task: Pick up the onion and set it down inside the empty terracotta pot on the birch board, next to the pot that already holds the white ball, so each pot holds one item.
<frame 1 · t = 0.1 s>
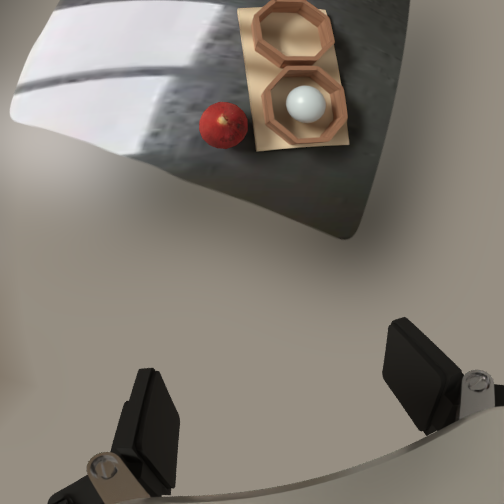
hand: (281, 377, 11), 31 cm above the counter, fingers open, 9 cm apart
onion: (223, 129, 36), on the counter
pot board: (292, 73, 35), on the counter
white ball: (300, 107, 35), point 1 cm above the counter, touching pot board
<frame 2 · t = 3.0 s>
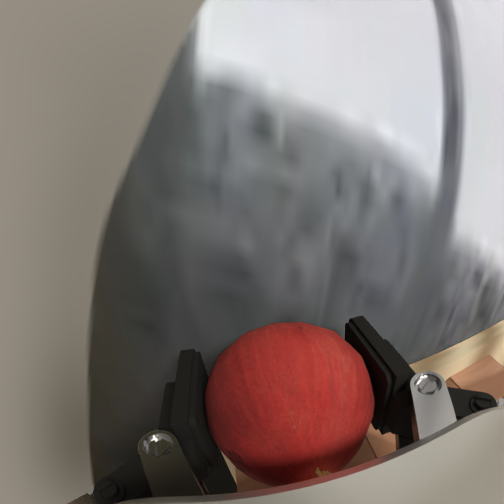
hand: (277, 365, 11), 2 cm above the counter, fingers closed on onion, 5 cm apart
onion: (270, 342, 13), on the counter, touching gripper
pot board: (385, 430, 16), on the counter
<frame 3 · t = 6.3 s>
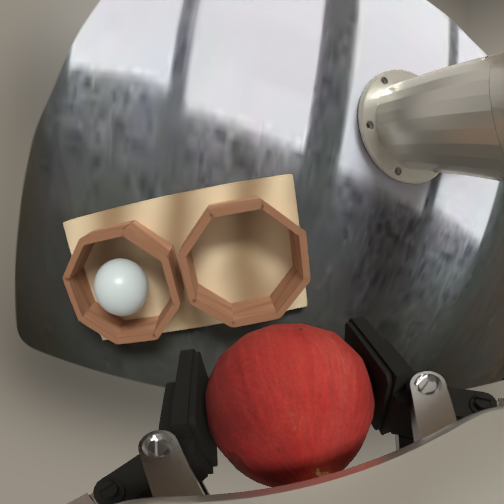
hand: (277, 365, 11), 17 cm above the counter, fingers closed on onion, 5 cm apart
onion: (270, 343, 13), point 16 cm above the counter, touching gripper
pot board: (184, 262, 27), on the counter
white ball: (128, 276, 26), point 1 cm above the counter, touching pot board
when the fingers open (4 cm above the counter, at t = 9.6 s): onion drops 2 cm, resting on pot board.
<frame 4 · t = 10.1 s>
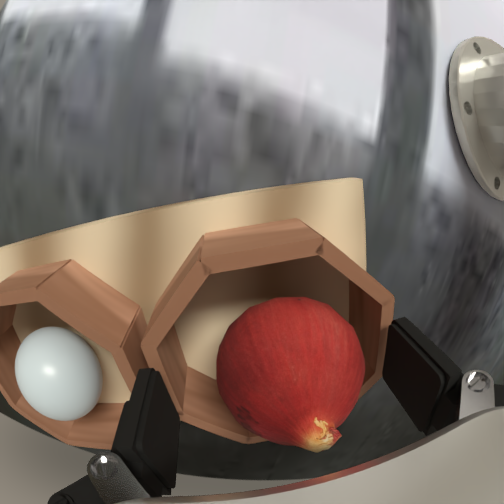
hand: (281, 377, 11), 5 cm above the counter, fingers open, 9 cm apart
onion: (272, 320, 15), point 1 cm above the counter, touching pot board
pot board: (163, 328, 15), on the counter
white ball: (74, 347, 14), point 1 cm above the counter, touching pot board
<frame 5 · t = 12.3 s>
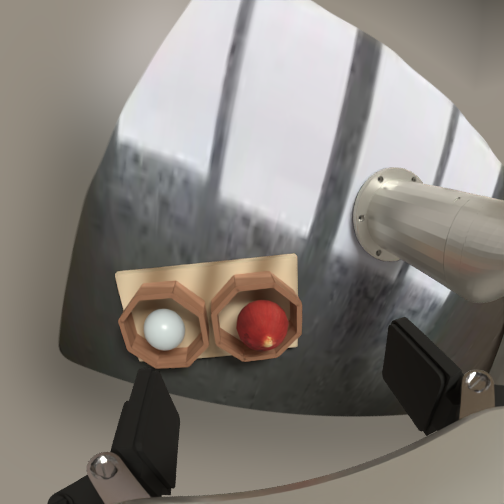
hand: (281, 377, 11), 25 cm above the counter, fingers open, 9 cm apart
onion: (257, 309, 36), point 1 cm above the counter, touching pot board
pot board: (210, 310, 37), on the counter
white ball: (167, 319, 35), point 1 cm above the counter, touching pot board
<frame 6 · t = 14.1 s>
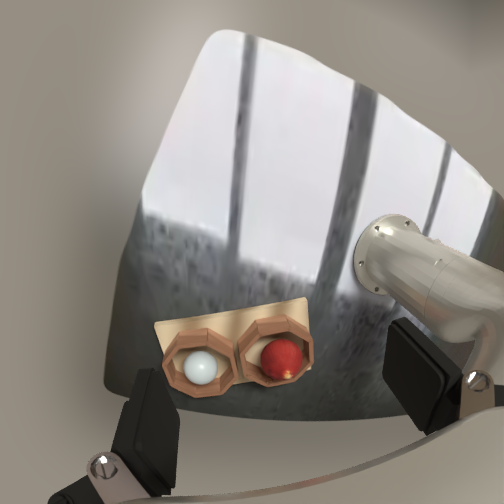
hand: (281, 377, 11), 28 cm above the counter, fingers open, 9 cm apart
onion: (276, 343, 42), point 1 cm above the counter, touching pot board
pot board: (236, 347, 43), on the counter
white ball: (201, 357, 41), point 1 cm above the counter, touching pot board
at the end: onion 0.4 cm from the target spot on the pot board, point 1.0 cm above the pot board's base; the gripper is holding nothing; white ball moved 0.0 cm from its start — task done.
